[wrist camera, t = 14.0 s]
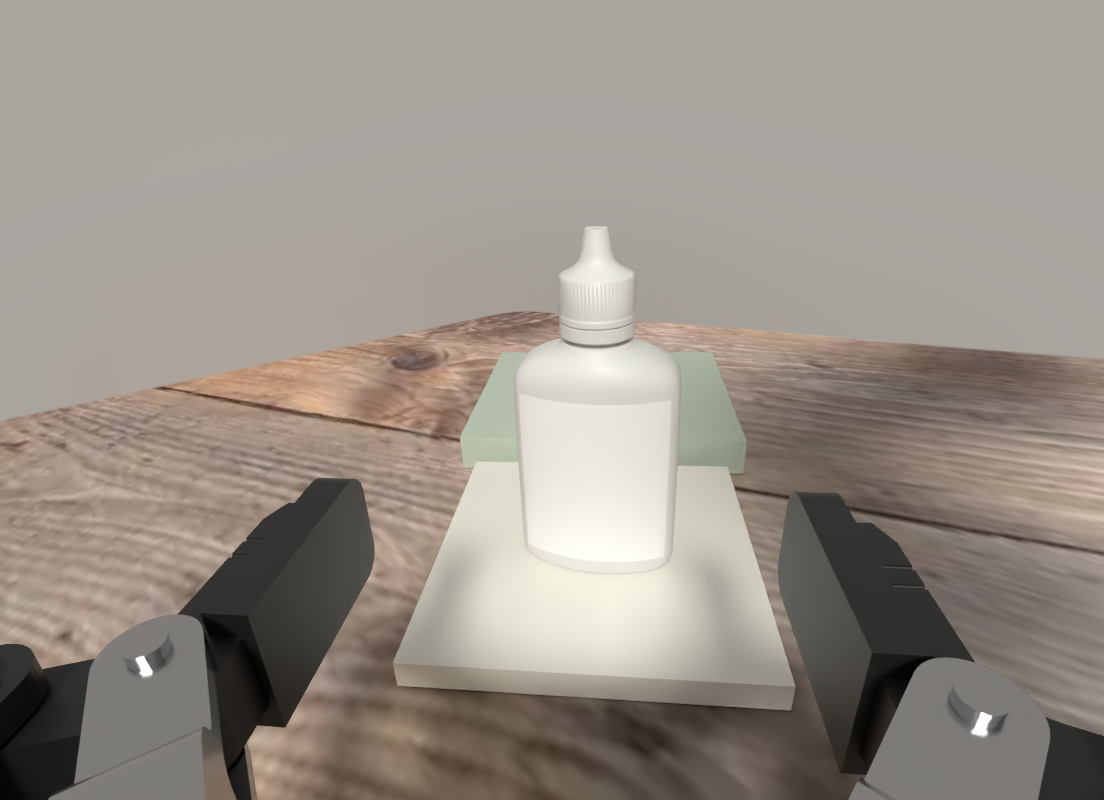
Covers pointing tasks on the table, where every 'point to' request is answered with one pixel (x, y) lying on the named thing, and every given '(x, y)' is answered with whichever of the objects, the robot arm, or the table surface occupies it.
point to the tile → (598, 609)
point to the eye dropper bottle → (598, 428)
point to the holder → (703, 417)
